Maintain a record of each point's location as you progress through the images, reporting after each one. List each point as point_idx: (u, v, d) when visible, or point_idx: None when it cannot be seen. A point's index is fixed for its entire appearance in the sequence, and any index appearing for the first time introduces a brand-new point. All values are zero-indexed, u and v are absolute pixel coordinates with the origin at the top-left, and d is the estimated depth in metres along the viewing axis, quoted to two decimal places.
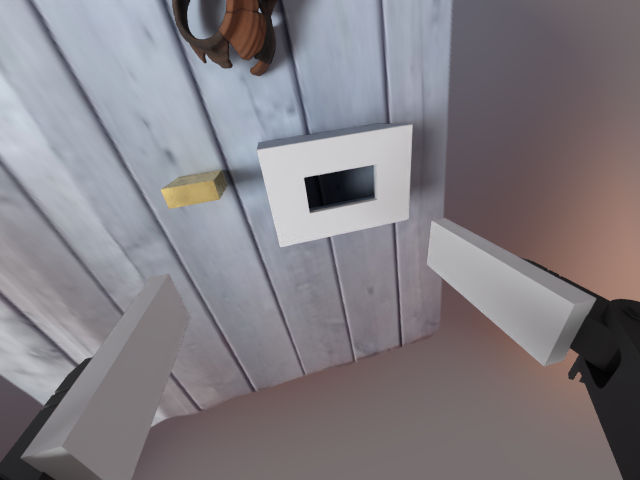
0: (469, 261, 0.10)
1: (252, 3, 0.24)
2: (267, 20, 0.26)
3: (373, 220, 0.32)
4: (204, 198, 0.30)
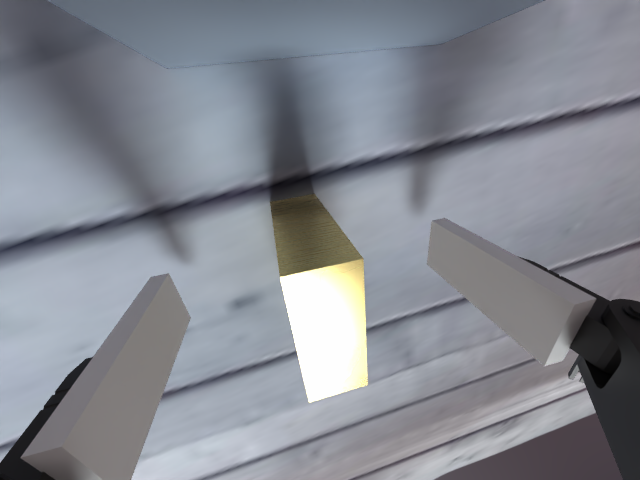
0: (469, 261, 0.10)
1: None
2: None
3: None
4: (351, 307, 0.08)
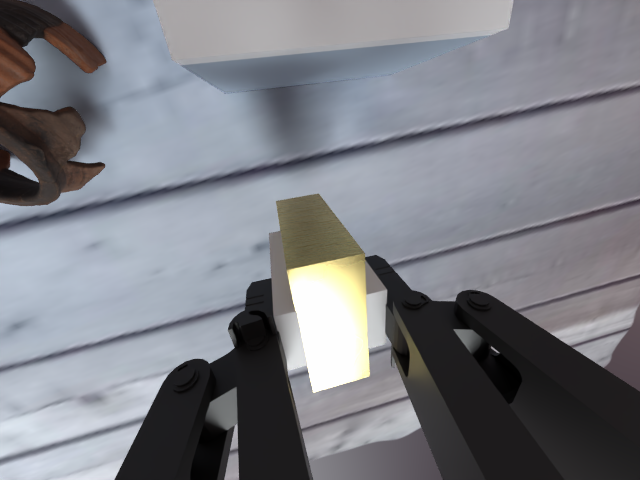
0: None
1: None
2: None
3: None
4: (353, 299, 0.08)
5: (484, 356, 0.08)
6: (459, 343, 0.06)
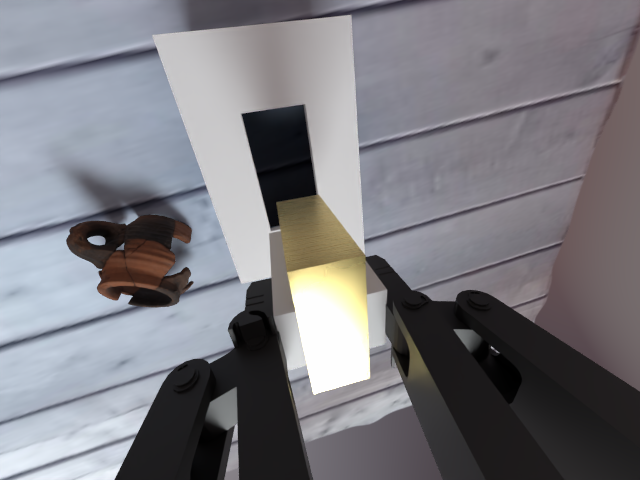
0: None
1: (118, 258, 0.23)
2: (129, 236, 0.24)
3: (343, 108, 0.18)
4: (354, 301, 0.08)
5: (484, 356, 0.08)
6: (459, 343, 0.06)
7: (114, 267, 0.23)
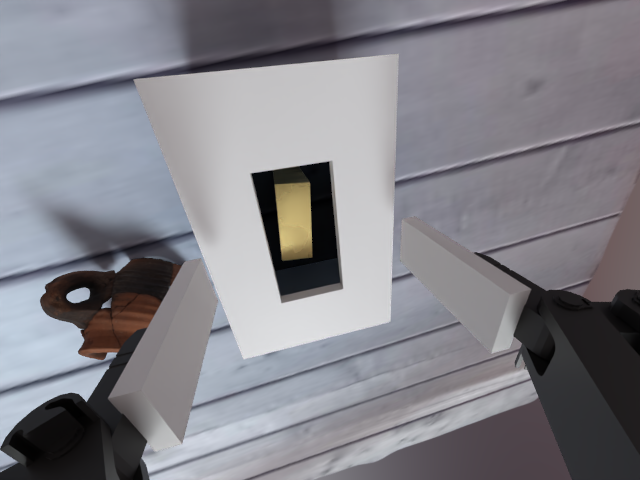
0: (432, 256, 0.11)
1: (103, 319, 0.19)
2: (118, 289, 0.20)
3: (379, 165, 0.14)
4: (304, 206, 0.17)
5: None
6: (635, 356, 0.05)
7: (98, 329, 0.19)
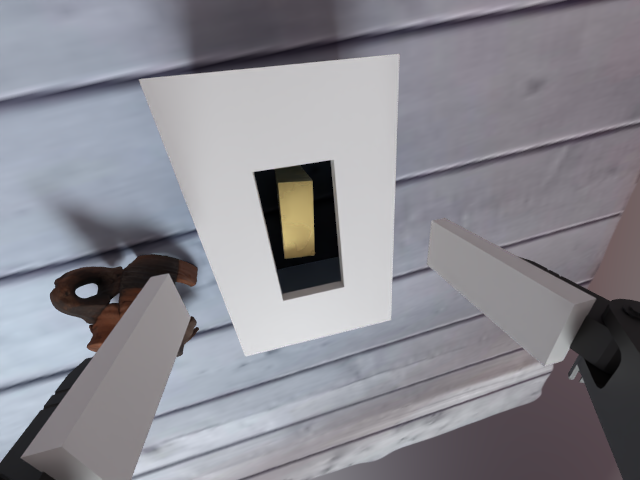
0: (469, 261, 0.10)
1: (111, 314, 0.19)
2: (125, 284, 0.21)
3: (380, 163, 0.14)
4: (307, 204, 0.17)
5: None
6: None
7: (107, 324, 0.20)
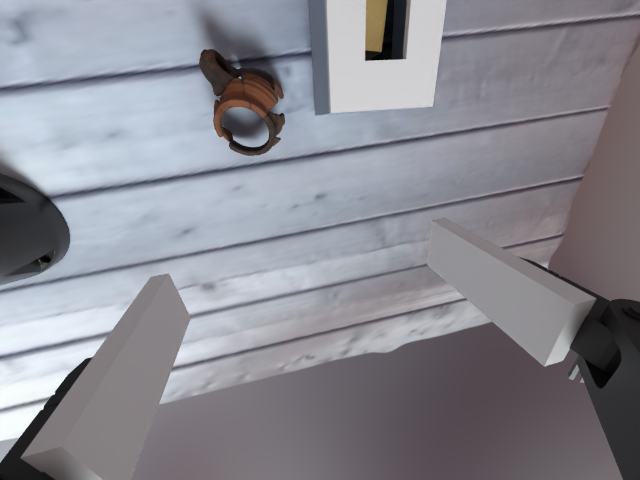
0: (469, 261, 0.10)
1: (237, 83, 0.27)
2: (243, 71, 0.28)
3: None
4: (383, 0, 0.25)
5: None
6: None
7: (233, 91, 0.27)
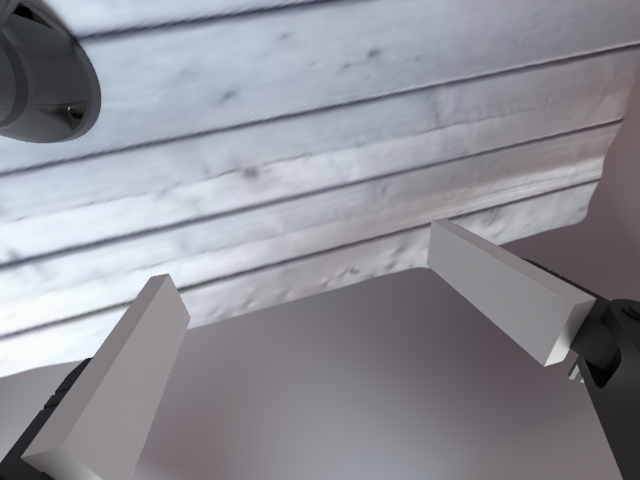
0: (469, 261, 0.10)
1: None
2: None
3: None
4: None
5: None
6: None
7: None
